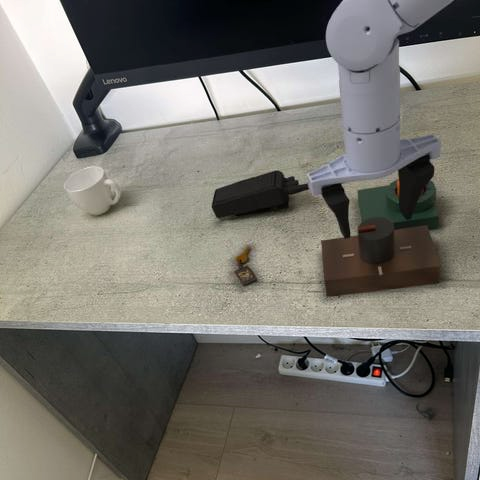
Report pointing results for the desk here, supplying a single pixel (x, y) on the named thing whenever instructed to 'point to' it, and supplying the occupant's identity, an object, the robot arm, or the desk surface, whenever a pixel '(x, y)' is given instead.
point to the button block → (387, 206)
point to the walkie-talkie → (256, 195)
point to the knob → (376, 239)
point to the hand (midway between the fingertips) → (375, 224)
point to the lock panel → (380, 264)
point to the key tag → (244, 269)
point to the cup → (92, 190)
